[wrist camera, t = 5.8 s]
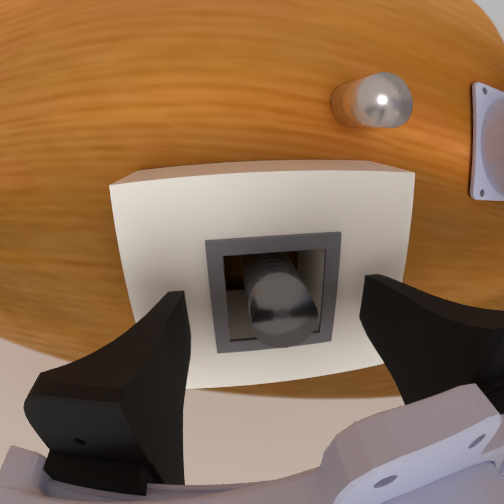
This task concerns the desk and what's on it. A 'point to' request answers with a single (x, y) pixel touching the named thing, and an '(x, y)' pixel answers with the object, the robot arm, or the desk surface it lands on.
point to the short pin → (372, 101)
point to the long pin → (277, 300)
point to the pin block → (264, 241)
